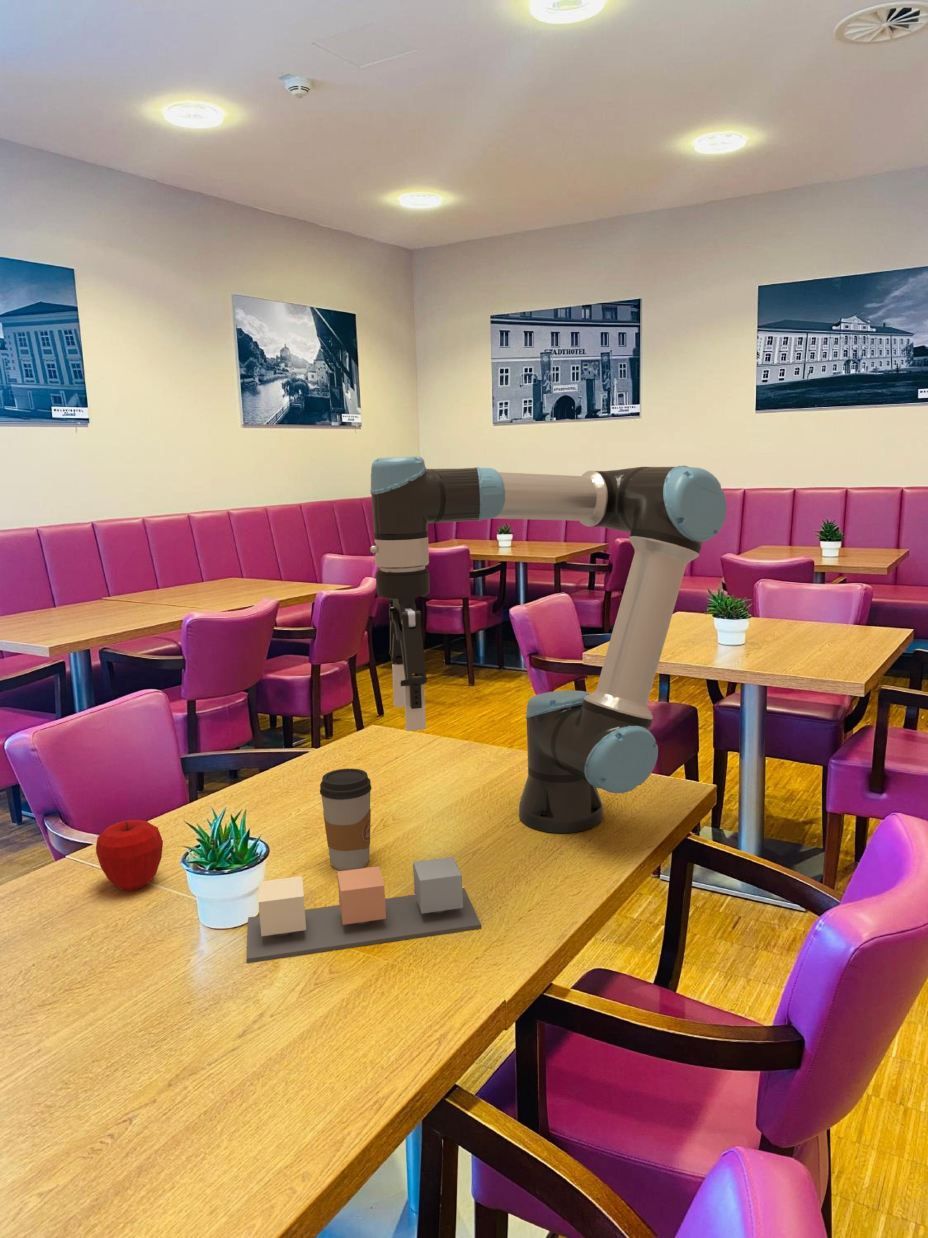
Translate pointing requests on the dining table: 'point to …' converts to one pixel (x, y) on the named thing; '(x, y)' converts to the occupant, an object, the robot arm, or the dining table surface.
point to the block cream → (281, 906)
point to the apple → (130, 853)
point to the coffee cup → (347, 817)
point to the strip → (358, 929)
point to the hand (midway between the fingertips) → (409, 717)
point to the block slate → (438, 885)
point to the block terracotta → (361, 895)
